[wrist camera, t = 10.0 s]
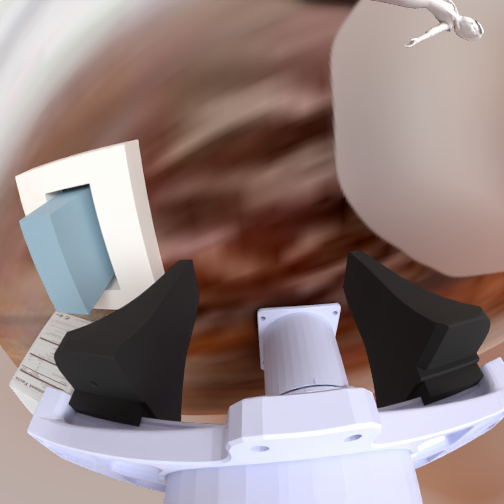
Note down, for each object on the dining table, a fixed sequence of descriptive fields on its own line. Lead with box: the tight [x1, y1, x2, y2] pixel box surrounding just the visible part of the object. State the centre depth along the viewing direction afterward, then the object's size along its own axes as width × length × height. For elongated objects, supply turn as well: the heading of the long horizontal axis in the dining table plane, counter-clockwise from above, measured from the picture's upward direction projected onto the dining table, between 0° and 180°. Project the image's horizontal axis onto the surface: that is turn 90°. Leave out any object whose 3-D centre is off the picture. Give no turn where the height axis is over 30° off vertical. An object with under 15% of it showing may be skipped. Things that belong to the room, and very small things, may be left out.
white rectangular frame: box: [16, 140, 165, 310], centre depth 21 cm, size 14×12×2 cm
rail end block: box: [19, 184, 115, 315], centre depth 19 cm, size 8×4×7 cm, turn 3°
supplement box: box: [9, 310, 93, 415], centre depth 23 cm, size 7×7×13 cm
